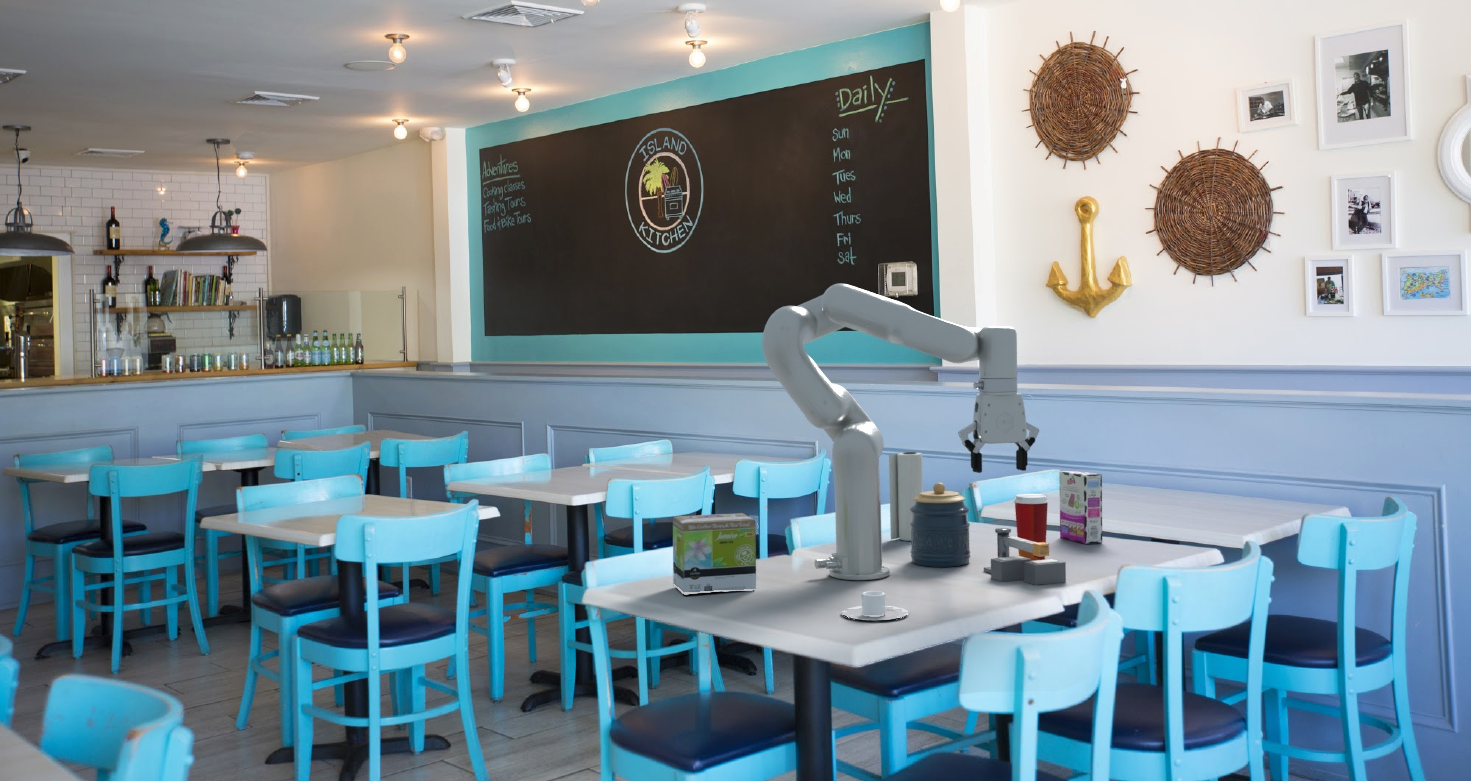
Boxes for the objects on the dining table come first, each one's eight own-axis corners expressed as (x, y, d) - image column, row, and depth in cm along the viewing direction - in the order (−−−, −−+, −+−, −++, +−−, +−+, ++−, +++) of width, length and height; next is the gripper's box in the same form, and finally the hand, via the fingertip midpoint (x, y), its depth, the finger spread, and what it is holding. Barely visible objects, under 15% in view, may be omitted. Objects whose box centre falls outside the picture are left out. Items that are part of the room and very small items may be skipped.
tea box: (684, 597, 234) (682, 522, 233) (673, 587, 243) (670, 515, 243) (757, 591, 238) (756, 517, 237) (744, 582, 247) (742, 511, 247)
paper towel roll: (927, 538, 295) (926, 451, 294) (917, 542, 289) (916, 454, 289) (900, 536, 298) (899, 451, 298) (890, 540, 293) (888, 453, 292)
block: (1001, 581, 240) (1001, 560, 240) (991, 578, 244) (990, 557, 244) (1031, 578, 243) (1031, 558, 243) (1020, 575, 247) (1020, 554, 246)
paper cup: (1046, 555, 268) (1046, 492, 268) (1052, 561, 261) (1051, 497, 260) (1011, 555, 269) (1010, 493, 268) (1016, 561, 261) (1015, 497, 261)
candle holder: (904, 608, 220) (904, 585, 220) (912, 624, 208) (911, 599, 208) (839, 609, 221) (839, 586, 221) (843, 625, 209) (842, 601, 209)
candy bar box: (1104, 543, 281) (1103, 473, 281) (1085, 544, 280) (1084, 475, 279) (1076, 536, 292) (1075, 469, 291) (1059, 537, 291) (1058, 470, 290)
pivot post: (999, 576, 246) (998, 532, 246) (983, 571, 252) (982, 528, 251) (1024, 573, 248) (1023, 530, 248) (1008, 568, 254) (1007, 526, 253)
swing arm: (1003, 546, 248) (1002, 535, 247) (1013, 545, 248) (1012, 534, 248) (1038, 556, 235) (1038, 544, 235) (1049, 555, 236) (1049, 543, 236)
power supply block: (1035, 585, 236) (1035, 564, 236) (1024, 581, 240) (1024, 560, 240) (1065, 582, 238) (1065, 561, 238) (1054, 578, 242) (1053, 557, 242)
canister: (899, 561, 266) (897, 482, 265) (946, 555, 272) (944, 477, 271) (934, 570, 254) (933, 487, 253) (982, 563, 260) (981, 483, 259)
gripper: (966, 389, 237) (967, 474, 238) (1046, 386, 241) (1047, 471, 242) (951, 387, 245) (952, 471, 245) (1029, 385, 248) (1030, 467, 249)
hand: (999, 471), depth 243 cm, fingers open, 9 cm apart
